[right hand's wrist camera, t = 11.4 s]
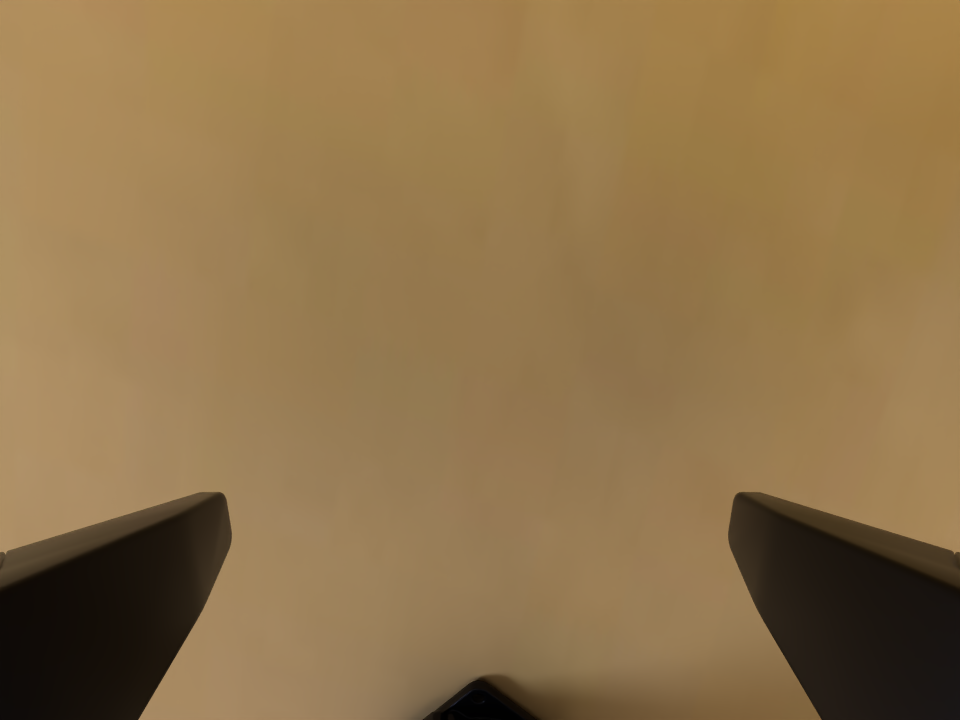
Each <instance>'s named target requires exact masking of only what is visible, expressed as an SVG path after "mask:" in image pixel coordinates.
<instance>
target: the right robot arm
mask: <svg viewBox="0 0 960 720" xmlns="http://www.w3.org/2000/svg"><path fill="white" fill-rule="evenodd" d="M231 539H232V531H231V525H230V518H229V512H228V506H227V500H226V497H225V495H224V494H223V493H221V492H200V493H196V494H193V495H190V496H187V497H183V498H180V499H177V500H173V501H170V502H167V503H164V504H160V505H157V506H154V507H150V508H147V509H144V510H141V511H137V512H134V513H131V514H127V515H124V516H121V517H118V518H114V519H111V520H108V521H104V522H101V523H98V524H95V525H91V526H88V527H85V528H82V529H78V530H75V531H72V532H68V533H65V534H62V535H59V536H55V537H52V538H49V539H45V540H42V541H39V542H36V543H32V544H29V545H26V546H22V547H19V548H16V549H13V550H9V551H7V553H6V555H5V553H4V552H0V720H138V719H139V718H140V716H141V714H142V712H143V711H144V709H145V707H146V706H147V704H148V702H149V701H150V699H151V697H152V696H153V694H154V692H155V690H156V689H157V687H158V685H159V684H160V682H161V680H162V679H163V677H164V675H165V673H166V672H167V670H168V668H169V667H170V665H171V663H172V662H173V660H174V658H175V657H176V655H177V653H178V651H179V650H180V648H181V646H182V645H183V643H184V641H185V640H186V638H187V636H188V634H189V633H190V631H191V629H192V628H193V626H194V624H195V623H196V621H197V619H198V617H199V615H200V614H201V612H202V610H203V608H204V606H205V604H206V602H207V600H208V597H209V595H210V593H211V590H212V588H213V586H214V583H215V581H216V579H217V576H218V574H219V572H220V569H221V567H222V565H223V562H224V560H225V558H226V555H227V553H228V551H229V548H230V545H231ZM728 539H729V545H730V548H731V551H732V553H733V555H734V558H735V560H736V562H737V565H738V567H739V569H740V572H741V574H742V576H743V579H744V581H745V583H746V586H747V588H748V590H749V593H750V595H751V597H752V599H753V602H754V604H755V606H756V608H757V610H758V612H759V614H760V615H761V617H762V619H763V621H764V623H765V624H766V626H767V628H768V629H769V631H770V633H771V634H772V636H773V638H774V640H775V641H776V643H777V645H778V646H779V648H780V650H781V651H782V653H783V655H784V656H785V658H786V660H787V662H788V663H789V665H790V667H791V668H792V670H793V672H794V673H795V675H796V677H797V679H798V680H799V682H800V684H801V685H802V687H803V689H804V690H805V692H806V694H807V695H808V697H809V699H810V701H811V702H812V704H813V706H814V707H815V709H816V711H817V712H818V714H819V716H820V718H821V719H822V720H960V552H956V553H955V555H954V552H953V551H951V550H947V549H944V548H941V547H938V546H934V545H931V544H928V543H924V542H921V541H918V540H915V539H911V538H908V537H905V536H901V535H898V534H895V533H892V532H888V531H885V530H882V529H879V528H875V527H872V526H869V525H865V524H862V523H859V522H856V521H852V520H849V519H846V518H842V517H839V516H836V515H833V514H829V513H826V512H823V511H819V510H816V509H813V508H810V507H806V506H803V505H800V504H796V503H793V502H790V501H787V500H783V499H780V498H777V497H773V496H770V495H767V494H764V493H760V492H739V493H737V494H736V495H735V497H734V500H733V506H732V512H731V519H730V525H729V531H728ZM476 694H481V695H476ZM423 720H536V719H535V718H534V717H532V716H531V715H530V714H528V713H527V712H525V711H524V710H523V709H521V708H520V707H519V706H517V705H516V704H515V703H513V702H512V701H511V700H509V699H508V698H506V697H505V696H504V695H502V694H501V693H500V692H498V691H497V690H496V689H494V688H493V687H491V686H490V685H489V684H487V683H485V682H483V681H473V682H472V683H470V684H468V685H467V686H466V687H465V688H463V689H462V690H461V691H460V692H458V693H457V694H456V695H455V696H453V697H452V698H451V699H449V700H448V701H447V702H446V703H444V704H443V705H442V706H441V707H439V708H438V709H437V710H436V711H434V712H432V713H431V714H429V715H428V716H427V717H426V718H424V719H423Z"/></svg>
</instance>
